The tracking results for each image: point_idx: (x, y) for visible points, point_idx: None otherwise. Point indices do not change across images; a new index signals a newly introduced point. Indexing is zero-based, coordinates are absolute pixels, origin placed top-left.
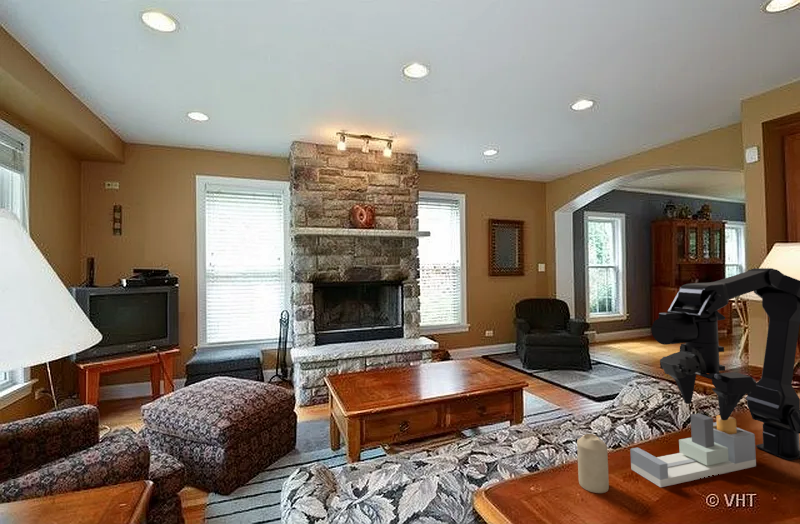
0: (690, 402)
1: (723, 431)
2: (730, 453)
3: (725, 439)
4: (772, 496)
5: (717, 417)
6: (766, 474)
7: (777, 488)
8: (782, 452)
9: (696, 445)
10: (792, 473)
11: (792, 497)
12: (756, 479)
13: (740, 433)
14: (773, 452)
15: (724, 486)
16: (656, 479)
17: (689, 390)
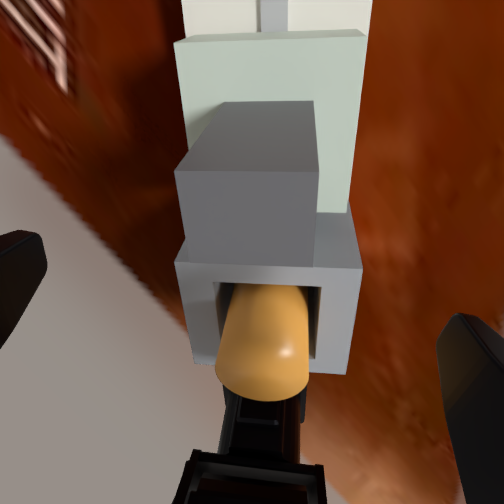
0: (439, 352)
1: (255, 292)
2: None
3: None
4: (49, 130)
5: (284, 348)
6: (174, 251)
7: (96, 197)
8: None
9: (261, 72)
10: (168, 312)
11: (47, 184)
12: (151, 192)
13: (211, 328)
14: None
15: (115, 11)
16: None
17: (501, 493)
